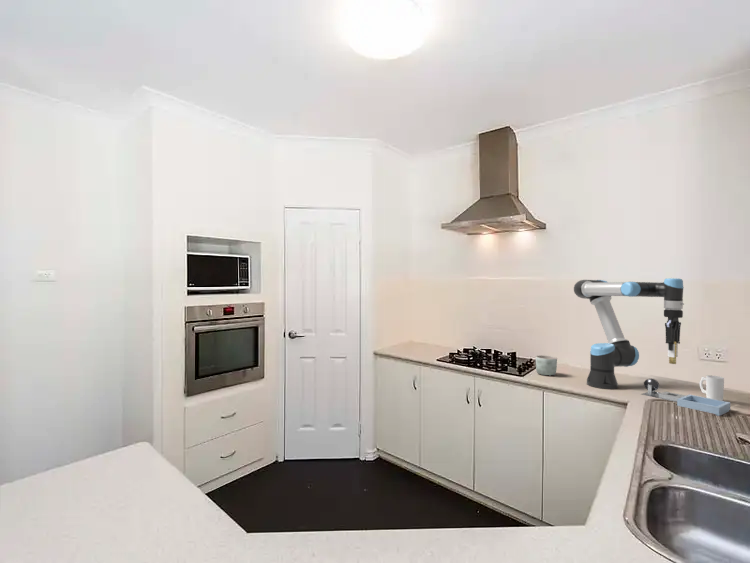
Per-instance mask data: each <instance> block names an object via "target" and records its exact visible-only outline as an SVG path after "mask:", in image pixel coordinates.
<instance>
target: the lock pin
mask: <svg viewBox="0 0 750 563" xmlns="http://www.w3.org/2000/svg"><path fill="white" fill-rule="evenodd" d="M674 344H675V357H668V364H671V365H676V364H677V357H676V341H674Z"/></svg>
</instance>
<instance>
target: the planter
mask: <svg viewBox="0 0 750 563" xmlns="http://www.w3.org/2000/svg"><path fill="white" fill-rule="evenodd" d="M557 366H558V358H557V357H556V356H551V355H536V356H535V370H536V373H537V374H539V375H540V374H541V376H545V375H549V377H550V376H551V375H553V376H555V375H556V373H557V368H558V367H557ZM551 377H552V376H551Z"/></svg>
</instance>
